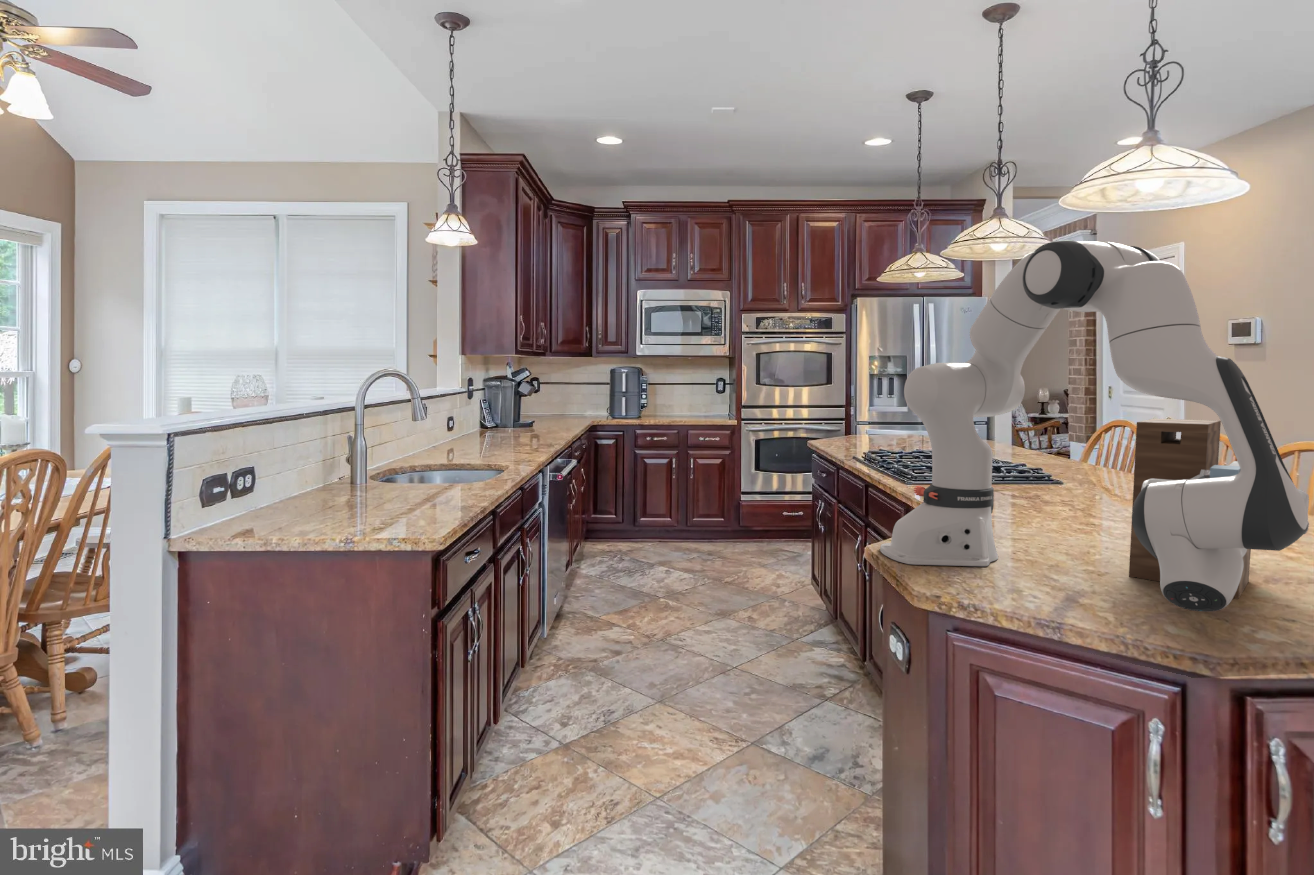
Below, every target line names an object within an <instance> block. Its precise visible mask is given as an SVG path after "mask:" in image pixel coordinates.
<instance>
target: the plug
mask: <svg viewBox="0 0 1314 875" xmlns="http://www.w3.org/2000/svg"><path fill="white" fill-rule="evenodd" d="M1238 473H1240V466H1239V464H1238V461H1237V460H1234V461H1232V462H1231V463H1230V464H1229V465H1224V464H1223V465H1222V464H1218V465H1214V466H1212V467H1211V468H1210V478H1215V477H1227V476H1234V475H1237V474H1238Z"/></svg>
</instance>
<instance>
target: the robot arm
mask: <svg viewBox="0 0 1314 875" xmlns="http://www.w3.org/2000/svg"><path fill="white" fill-rule="evenodd" d="M1061 310H1066V311H1071V312H1080V313H1091V312H1094V313H1098V312H1100V314H1102V315H1103V318H1104V319H1105V324H1106V327H1107V336H1108V344H1109V352H1110V358H1111V362H1112V365H1113V369H1114V371H1115V374H1116V376H1117V377H1118V378H1119V379H1120V381H1122V383H1124V385H1126V386H1127V387H1129V388H1130V389H1133V390H1134V391H1137V392H1140V393H1143V394H1146V395H1150V396H1155V397H1160V398H1167V399H1172V400H1173V399H1174V400H1179V401H1187V402H1193V403H1196V404H1200V405H1203V406H1206V407H1207V408H1210V409H1211V410H1212V411H1213V412H1214V413H1215V414H1216V415H1217V417H1218V418H1219V419H1220V420H1219V421H1221V424H1222V427H1223V429H1224V431H1225V435H1226V436H1227V439H1228V442H1229V444H1230V447H1231V449H1232V450H1233V453H1234V456H1235V458H1236V461H1238V464H1239V466H1240V473H1238V474H1237V475H1234V476H1227V477H1215V478H1210V470H1201V472H1200V475H1197V476H1195V477H1193V478H1191V479H1184V480H1167V479H1155V478H1151V479H1148V480H1146V481H1144V482H1143V484H1142V488H1141V492H1140V493H1139V495H1138V496H1137V498H1136V500H1135V502H1134V505H1133V504H1132V506H1133V510H1132V509H1131V511H1132V512H1131V525H1133V528H1134V531H1135V534H1136V536H1137V538H1138V540H1139V541H1140V542H1141V544H1142V545H1143V546H1144V547H1145V548H1146V549H1147V550H1148V551H1149V552H1150V553H1151V554H1152V555H1153V556H1154V557H1155V558H1156V559H1158V562H1159V567H1160V582H1159V584H1160V585H1159V587H1160V591H1161V593H1162V595H1163V597H1164V598H1165V599H1166V600H1167V601H1168V602H1170V603H1171V604H1173V605H1174V606H1176V607H1179V608H1182V609H1184V610H1187V611H1193V612H1203V613H1204V612H1205V613H1206V612H1207V613H1208V612H1218V611H1221V610H1223V609H1225V608H1226V607H1227V606H1229V604H1230V603H1231V602H1232V600H1233V599H1234V598H1233V597H1234V595H1235V593H1236V591H1237V588H1238V586H1239V583H1240V580H1241V576H1242V572H1243V567H1244V562H1243V556H1244V555H1245V554H1246V552H1247V549H1251V550H1256V551H1257V550H1258V551H1259V550H1261V551H1262V550H1263V551H1273V552H1274V551H1277V552H1279V551H1280V552H1281V551H1283V550H1284V549H1287V548H1288V547H1290V546H1291V545H1293V544H1294V543H1296V542H1297V541H1298V540H1299V539H1300V538H1302V536H1303V535H1305V534H1307V532H1308V531H1309V527H1310V523H1309V506H1310V501H1309V500H1310V499H1309V498H1310V495H1309V494H1308V493H1307V492H1305V491H1304V490H1302V489H1299V488H1297V487H1296V485H1295V483H1294V481H1293V479H1292V478H1291V476H1290V473H1289V471H1288V469H1287V467H1286V465H1285V463H1284V460H1283V458H1282V456H1281V454H1280V452H1279V450H1278V447H1277V445H1276V443H1275V439H1274V438H1273V435H1272V433H1271V431H1270V428H1269V426H1268V423H1267V422H1266V419H1265V417H1264V415H1263V412H1262V409H1261V407H1260V405H1259V403H1258V401H1257V399H1256V397H1255V394H1254V392H1253V390H1252V388H1251V386H1250V384H1249V382H1248V379H1247V378H1246V376H1245V375H1244V373H1243V371H1242V370H1241V369H1240V367H1239V366H1238V364H1236V363H1235V361H1233V359H1231V358H1228V357H1224V356H1218V355H1217V354H1216V353H1215V352H1214V351H1213V350H1212V349H1211V348H1210V346H1209V345H1208V343H1207V342H1206V340H1205V338H1204V335H1203V332H1202V327H1201V323H1200V317H1199V313H1198V309H1197V304H1196V302H1195V298H1194V296H1193V293H1192V291H1191V288H1190V285H1189V283H1188V281H1187V279H1186V276H1185V274H1184V273H1183V270H1182V269H1180V268H1179V267H1178V266H1177V265H1175V264H1173V263H1171V262H1167V261H1161V260H1160V258H1159V257H1158V256H1156V255H1155V254H1154V253H1152V252H1151V251H1149V250H1147V249H1144V248H1142V247H1139V246H1135V245H1129V246H1128V245H1125V244H1122V243H1116V242H1110V241H1105V240H1103V241H1102V240H1098V241H1090V240H1089V241H1088V240H1087V241H1086V240H1084V241H1083V240H1082V241H1079V240H1078V241H1077V240H1073V239H1061V240H1054V241H1050V242H1047V243H1043V244H1042V245H1040V246H1039V247H1037V249H1035V250H1034V251H1032V252H1030V253H1028V254H1025V255H1024V256H1023V257H1022V258H1021V259H1020V260H1019V261H1018V262H1017V264H1015V265H1014V267H1013V268H1012V269H1010V271H1009V272H1008V273H1007V274H1006V276H1005V277H1003V279H1002V281H1001V282H1000V283H999V284H998V285H997V287H996V289H995V290H994V291H993V293H992V294H991V296H990V298H989V299H988V300H987V302H986V303H985V305H984V307H983V308H982V309H981V312H979V315H977V318H976V319H975V321H974V322H973V323H972V325H971V327H970V330H969V338H970V342H971V344H972V346H973V348H974V349H975V350H974V353H973V355H972V357H971V358H970V359H969V360H967V361H965V362H935V363H931V364H926V365H923V366H919V367H916V368H914V369H913V370H912V371H911V372H910V373H909V375H908V376H907V378H906V380H905V381H904V382H905V383H904V388H903V396H904V400H905V402H906V405H907V407H908V409H910V411H911V412H912V413H914V414H915V415H916V416H917V417H918V418H919V419H920V421H921V422H922V424H923V426H924V428H925V429H926V433H927V434H928V438H929V441H930V446H931V458H932V459H931V460H932V462H931V464H932V466H931V468H932V469H931V471H932V475H931V478H932V479H931V484H930V485H929V486H928V487H925V486H921V485H916V486H915V487H914V488H913V493H914V494H915V495H916V496H919V497H923V498H922V499H923V500H922V501H923V502H921V503H920V504H919V505H917V506H916V507H914V509H912V510H911V511H910V512H908V513H907V514H905V515H904V516H902V517H901V518H899V519H898V520H897V521H896V522H895V524H894V526H893V530H892V535H891V542H885V543H881V544H880V547H879V551H880V552H881V553H882V555H884V556H886V557H888V558H889V559H891V560H892V561H895V562H899V563H904V564H906V565H919V566H921V565H922V566H924V565H925V566H957V567H958V566H959V567H961V566H963V567H988V566H989V565H990V563H992V562H994V561H997V560H998V559H999V555H998V550H997V548H996V547H997V546H996V542H995V536H994V530H993V517H992V516H993V515H992V514H993V511H994V503H995V501H994V500H995V496H994V495H995V488H994V487H993V486H992V482H993V481H992V480H993V478H992V477H993V449H992V447H991V446H990V444H989V443H988V442H987V441H985V440H984V439H982V438H981V437H980V436H979V434H978V432H977V429H976V427H975V421H974V418H992V417H996V416H1000V415H1003V414H1006V413H1010V412H1013V411H1014V410H1016V409H1017V408H1019V406H1020V405H1021V403H1022V402H1023V400H1024V396H1025V392H1026V387H1025V381H1024V380H1025V379H1024V378H1023V376H1022V374H1021V372H1022V368H1023V365H1024V363H1025V360H1026V359H1027V356H1028V355H1029V354H1030V352H1031V351H1032V349H1033V348H1034V347H1035V345H1036V344H1037V343H1038V341H1039V339H1040V338H1041V337H1042V335H1043V334H1044V332H1046V330H1047V328H1048V327H1049V326H1050V324H1051V323H1052V321H1053V320H1054V319H1055V317H1057V314H1058V313H1059V312H1060V311H1061Z"/></svg>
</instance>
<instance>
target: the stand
mask: <svg viewBox="0 0 1314 875" xmlns="http://www.w3.org/2000/svg"><path fill="white" fill-rule="evenodd" d="M1221 424H1222V422H1221V420H1213V419H1178V418H1176V419H1175V418H1151V419H1146V420H1140V421H1136V430H1135V450H1134V451H1135V452H1134V471H1133V488H1132V489H1133V490H1132V506H1131V507H1132V509H1131V511H1132V510H1133V505H1134V502H1135V500H1136V498H1137V496H1138V495H1139V493H1140V492H1141V488H1142V484H1143V482H1144V481H1146V480H1148V479H1151V478H1155V479H1167V480H1184V479H1191V478H1193V477H1195V476H1197V475H1200V472H1201V470H1210V468H1211V467H1212V466H1214V465H1219V456H1220V454H1219V452H1220V442H1221V440H1220V438H1221V426H1222V425H1221ZM1177 433H1180V438H1177ZM1130 526H1131V529H1130V547H1129V548H1130V549H1129V564H1128V566H1129V567H1128V577H1130V578H1135V577H1137V579H1141V580H1147V579H1149V581H1154V582H1159V581H1160V567H1159V562H1158V559H1156V558H1155V557H1154V556H1153V555H1152V554H1151V553H1150V552H1149V551H1148V550H1147V549H1146V548H1145V547H1144V546H1143V545H1142V544H1141V542H1140V541H1139V540H1138V538H1137V536H1136V534H1135V531H1134V528H1133V525H1132V524H1131V525H1130ZM1251 550H1252V549H1247V552H1246V554H1245V555H1244V556H1243V562H1244V567H1243V572H1242V576H1241V580H1240V583H1239V586H1238V588H1237V591H1236V593H1235V595H1234V597H1233V599H1237V600H1238V599H1239V598H1240V597H1241V595H1242V593H1243V592H1244V590H1245V588H1246V587H1247V585H1248V583H1249V581H1250V567H1251Z"/></svg>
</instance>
